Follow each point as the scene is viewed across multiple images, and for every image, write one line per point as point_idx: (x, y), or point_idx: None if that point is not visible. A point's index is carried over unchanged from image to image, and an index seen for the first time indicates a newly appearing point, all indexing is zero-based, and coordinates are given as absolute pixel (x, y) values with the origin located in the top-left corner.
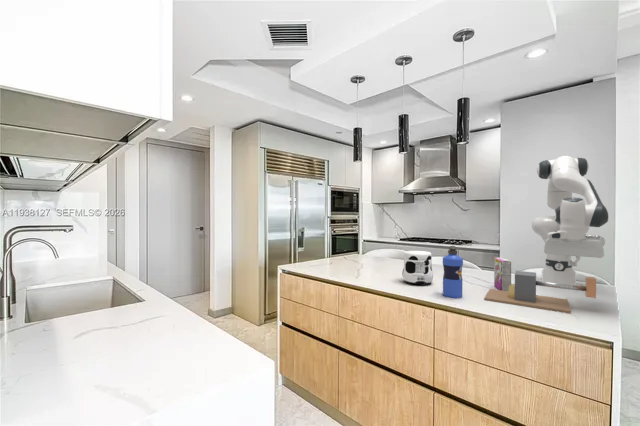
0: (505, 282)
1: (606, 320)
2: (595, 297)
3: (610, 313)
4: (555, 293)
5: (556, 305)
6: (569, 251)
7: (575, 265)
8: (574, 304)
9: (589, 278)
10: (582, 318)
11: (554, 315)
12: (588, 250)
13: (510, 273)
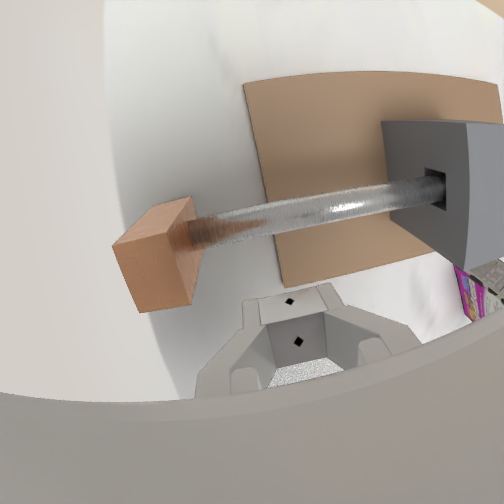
0: (489, 266)
1: (126, 100)
2: (153, 206)
3: (131, 220)
4: (327, 362)
5: (307, 137)
6: (418, 431)
7: (256, 301)
8: (254, 256)
9: (149, 240)
10: (196, 52)
11: (287, 17)
12: (33, 496)
13: (502, 298)
